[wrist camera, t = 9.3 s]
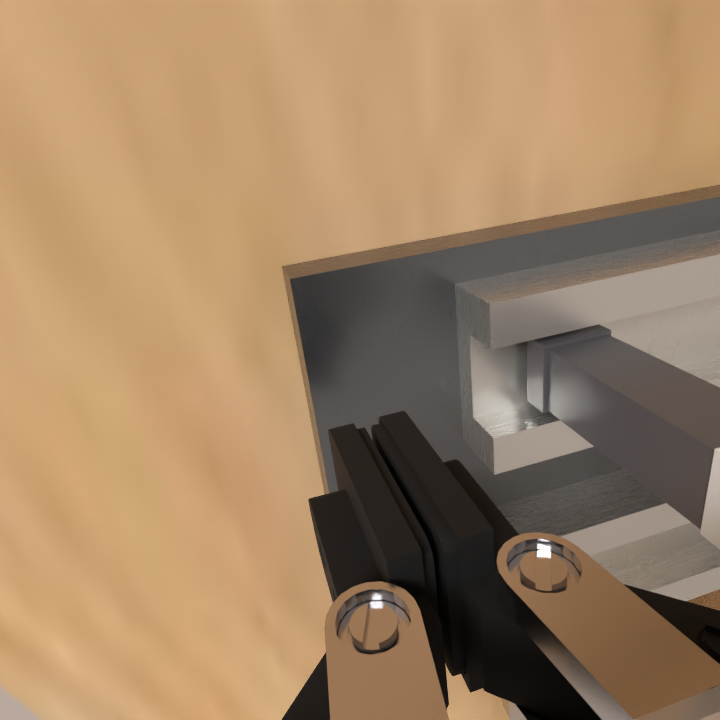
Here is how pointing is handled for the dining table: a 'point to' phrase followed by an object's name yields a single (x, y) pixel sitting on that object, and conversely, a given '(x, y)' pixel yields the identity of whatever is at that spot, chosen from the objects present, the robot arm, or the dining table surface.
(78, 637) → the dining table surface
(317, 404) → the breaker panel
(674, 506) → the handle
